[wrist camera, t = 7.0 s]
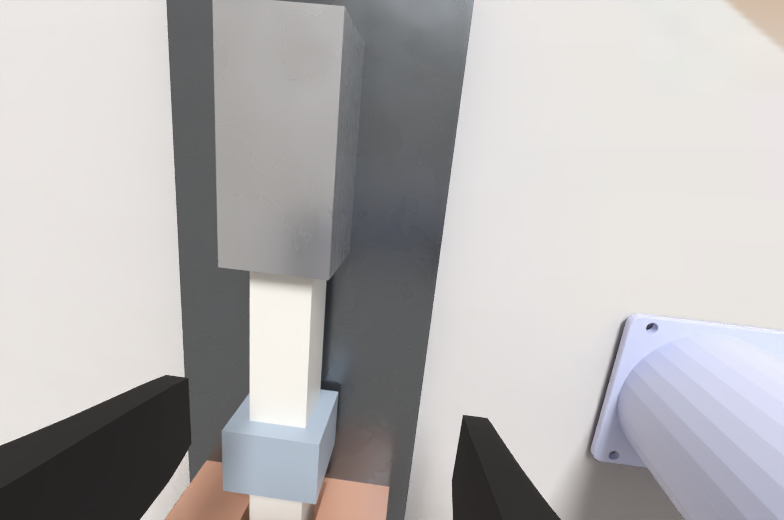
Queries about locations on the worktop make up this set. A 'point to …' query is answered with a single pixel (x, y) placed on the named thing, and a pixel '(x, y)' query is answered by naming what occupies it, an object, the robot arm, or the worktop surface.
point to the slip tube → (282, 403)
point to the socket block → (231, 510)
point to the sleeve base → (316, 201)
